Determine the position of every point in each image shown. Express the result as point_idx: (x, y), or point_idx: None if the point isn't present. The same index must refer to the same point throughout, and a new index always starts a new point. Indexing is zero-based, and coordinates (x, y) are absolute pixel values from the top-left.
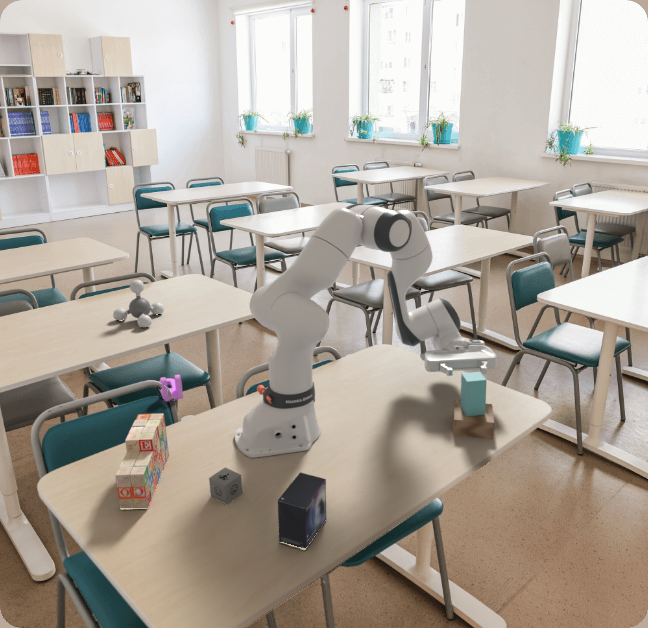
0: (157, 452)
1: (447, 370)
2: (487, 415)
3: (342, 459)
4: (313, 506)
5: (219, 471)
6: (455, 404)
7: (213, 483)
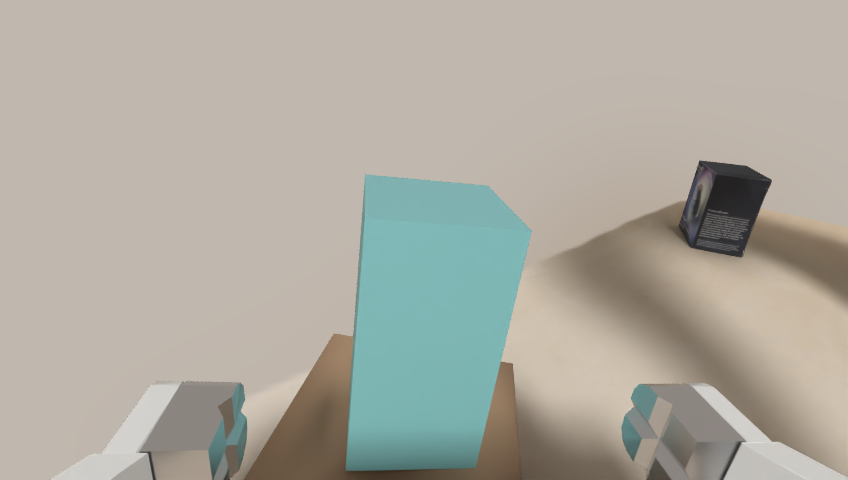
0: None
1: (706, 386)
2: (339, 378)
3: (811, 348)
4: (698, 177)
5: None
6: None
7: None
